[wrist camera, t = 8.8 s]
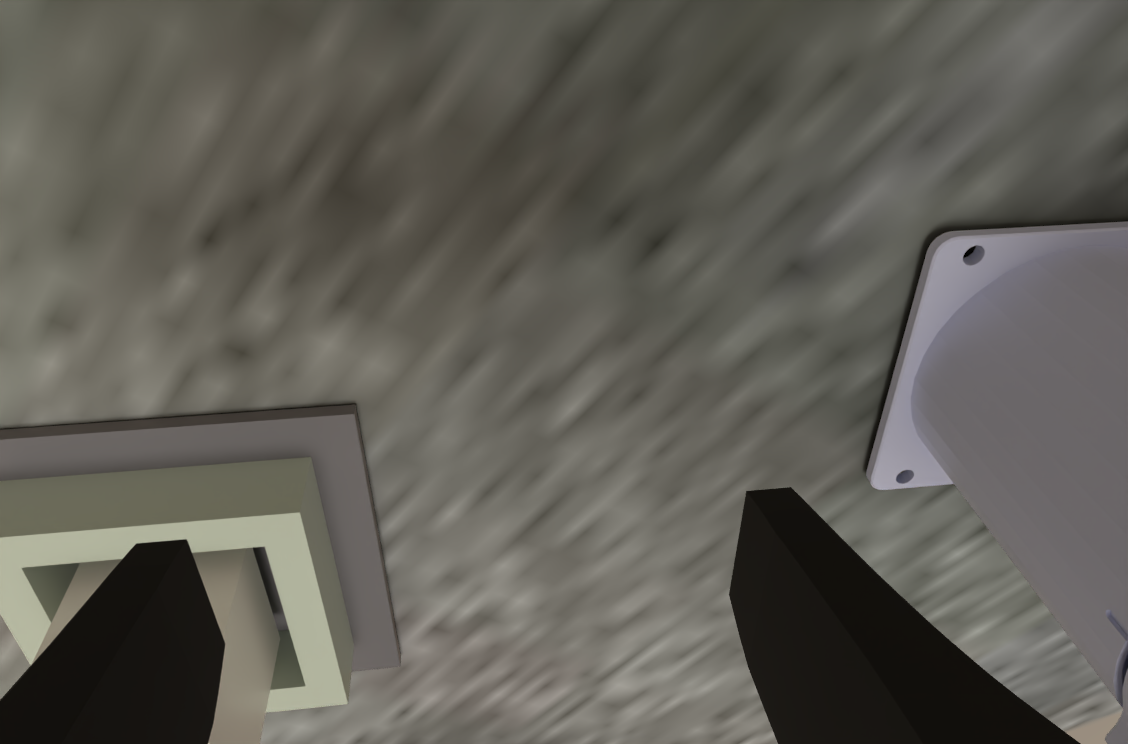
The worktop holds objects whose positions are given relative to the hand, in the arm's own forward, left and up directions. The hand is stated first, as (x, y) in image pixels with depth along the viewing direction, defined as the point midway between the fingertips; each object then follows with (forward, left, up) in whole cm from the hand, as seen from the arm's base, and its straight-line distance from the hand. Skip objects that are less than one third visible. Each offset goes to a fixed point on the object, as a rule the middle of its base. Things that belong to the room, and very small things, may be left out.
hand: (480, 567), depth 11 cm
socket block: (+8, +9, -9) cm, 15 cm away
